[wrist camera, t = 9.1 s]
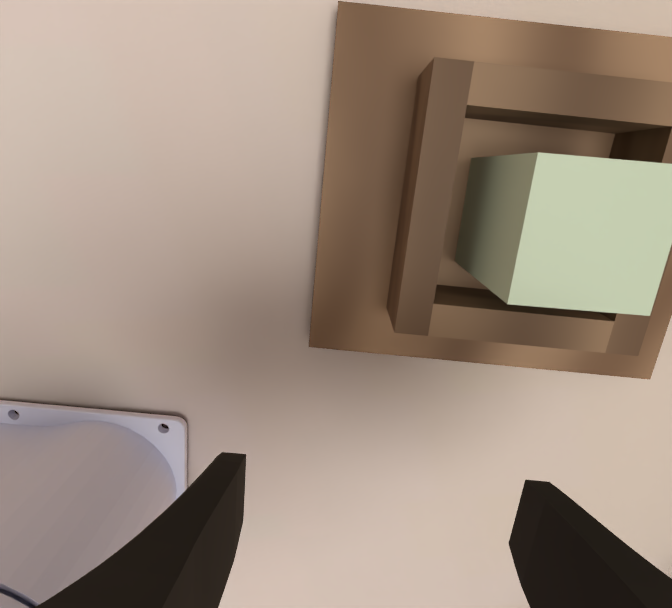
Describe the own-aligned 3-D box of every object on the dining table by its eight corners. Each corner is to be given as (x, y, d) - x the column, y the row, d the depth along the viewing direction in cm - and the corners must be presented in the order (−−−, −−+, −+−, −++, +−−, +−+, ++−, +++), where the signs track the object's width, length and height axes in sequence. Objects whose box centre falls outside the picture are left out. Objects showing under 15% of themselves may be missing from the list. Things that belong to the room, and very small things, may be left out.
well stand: (310, 338, 20) (303, 377, 16) (338, 10, 16) (337, -37, 13) (635, 369, 20) (703, 415, 17) (737, 53, 17) (855, 19, 13)
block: (454, 261, 18) (507, 304, 12) (471, 157, 17) (537, 152, 11) (552, 269, 18) (650, 315, 12) (575, 166, 17) (694, 166, 11)
